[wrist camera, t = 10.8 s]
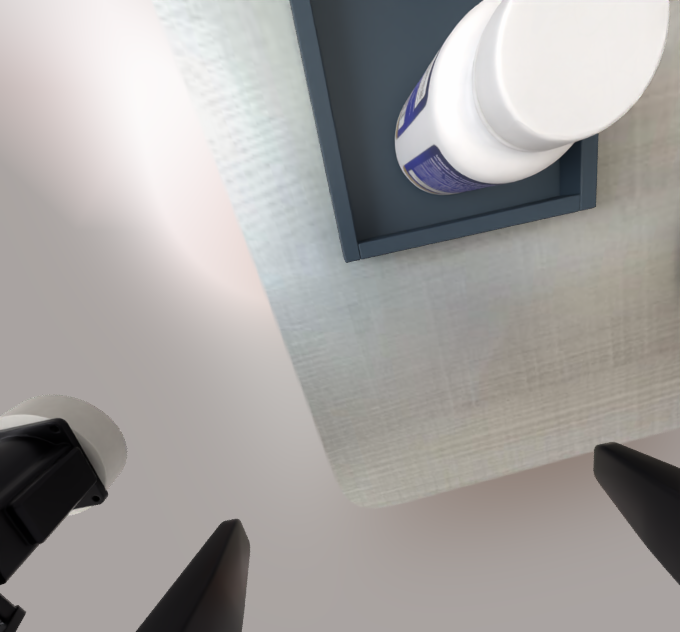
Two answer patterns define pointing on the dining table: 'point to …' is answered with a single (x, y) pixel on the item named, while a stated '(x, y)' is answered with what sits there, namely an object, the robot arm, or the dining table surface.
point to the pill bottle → (525, 88)
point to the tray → (380, 125)
